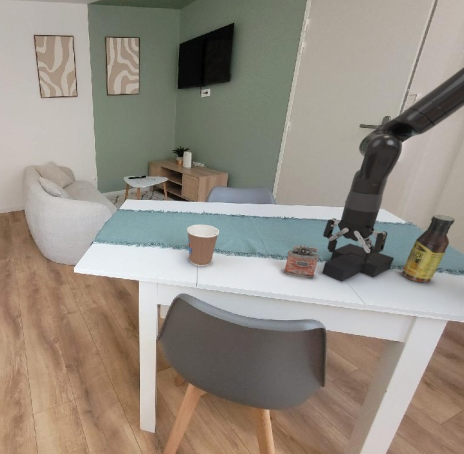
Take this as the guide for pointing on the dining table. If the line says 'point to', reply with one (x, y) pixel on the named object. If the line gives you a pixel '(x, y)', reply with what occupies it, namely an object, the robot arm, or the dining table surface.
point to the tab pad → (343, 267)
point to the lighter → (301, 262)
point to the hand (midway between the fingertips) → (346, 256)
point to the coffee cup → (201, 243)
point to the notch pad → (370, 268)
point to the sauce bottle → (428, 250)
